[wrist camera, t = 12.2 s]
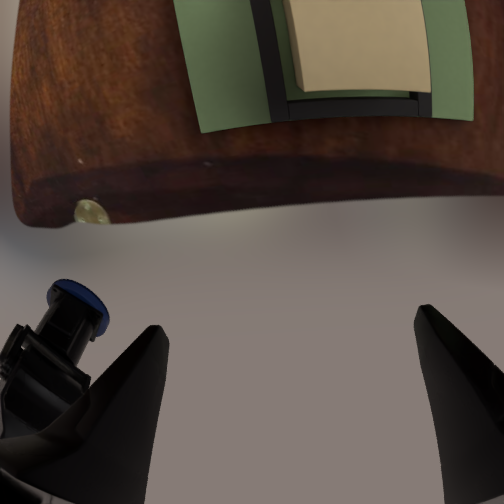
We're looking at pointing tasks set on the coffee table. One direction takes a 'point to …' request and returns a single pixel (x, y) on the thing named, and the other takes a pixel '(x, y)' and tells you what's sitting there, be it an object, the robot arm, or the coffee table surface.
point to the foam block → (358, 44)
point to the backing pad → (283, 76)
